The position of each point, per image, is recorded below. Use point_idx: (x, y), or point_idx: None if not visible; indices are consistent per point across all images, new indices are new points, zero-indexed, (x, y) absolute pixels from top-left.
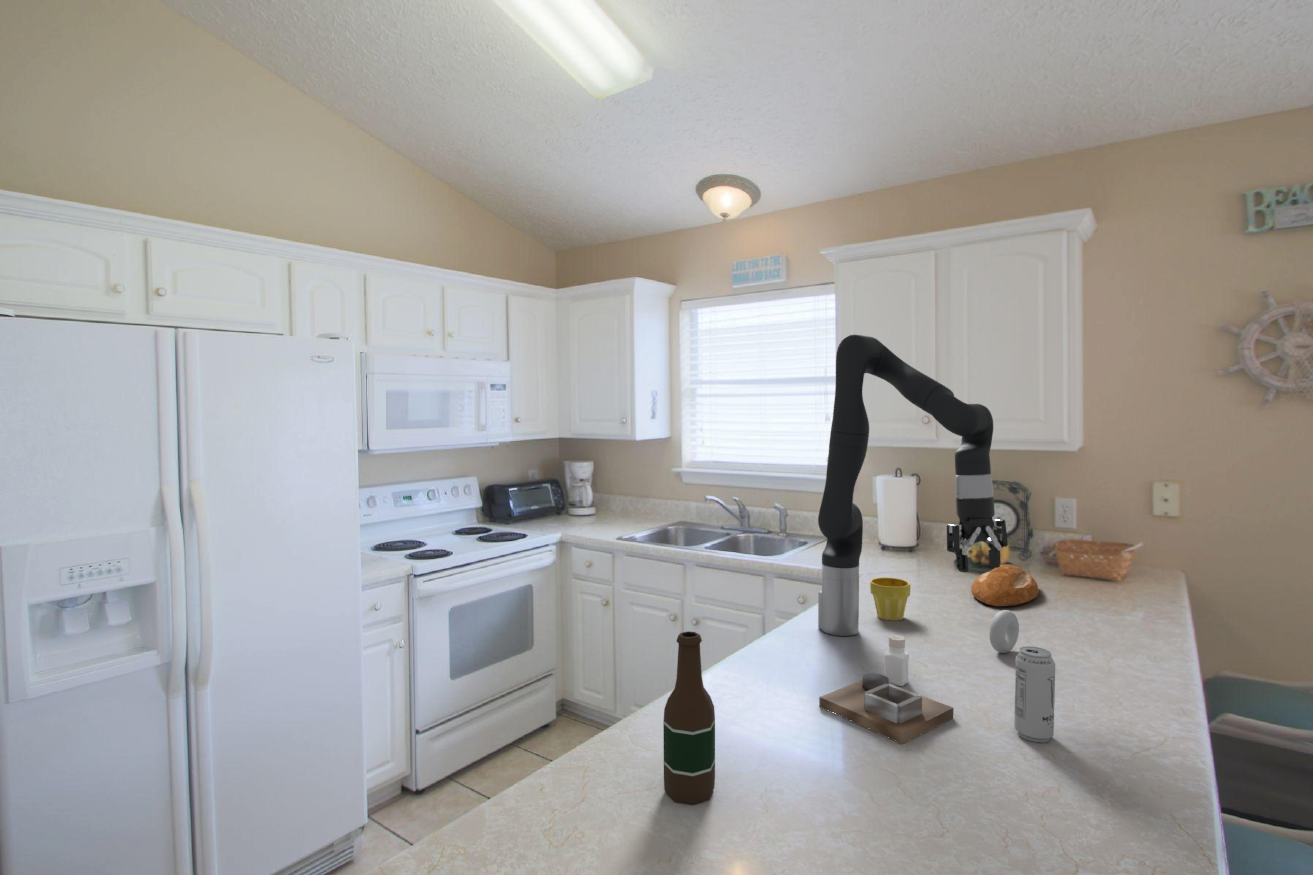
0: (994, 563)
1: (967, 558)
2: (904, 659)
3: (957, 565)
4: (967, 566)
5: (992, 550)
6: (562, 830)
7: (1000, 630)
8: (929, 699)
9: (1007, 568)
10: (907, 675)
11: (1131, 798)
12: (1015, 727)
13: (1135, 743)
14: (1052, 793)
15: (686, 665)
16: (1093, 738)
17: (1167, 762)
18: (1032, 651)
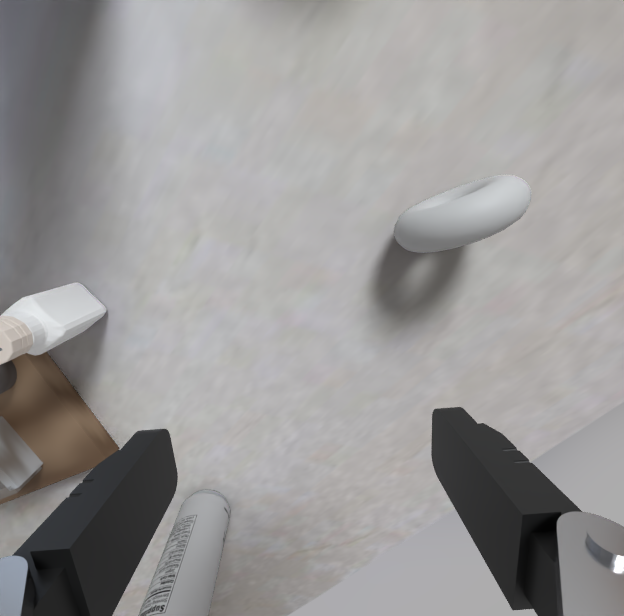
0: (445, 466)
1: (118, 599)
2: (44, 351)
3: (91, 480)
4: (154, 522)
5: (524, 558)
6: None
7: (416, 251)
8: (81, 429)
9: None
10: (92, 322)
11: (214, 608)
12: (180, 508)
13: (322, 536)
14: (137, 594)
15: None
16: (281, 521)
17: (316, 569)
18: None
